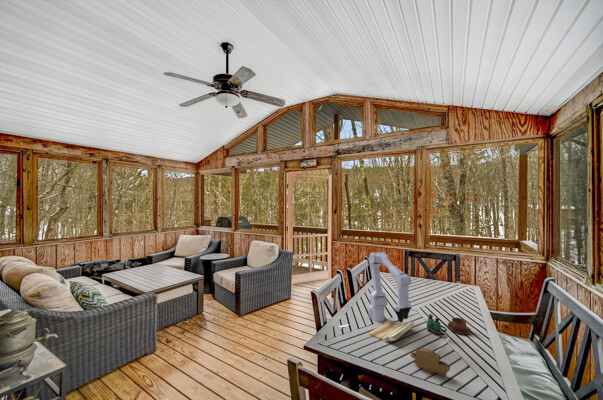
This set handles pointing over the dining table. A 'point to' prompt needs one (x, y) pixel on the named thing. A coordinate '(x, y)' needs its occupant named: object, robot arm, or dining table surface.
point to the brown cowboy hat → (459, 326)
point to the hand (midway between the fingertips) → (402, 320)
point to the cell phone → (343, 326)
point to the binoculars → (435, 326)
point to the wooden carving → (430, 361)
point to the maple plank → (398, 332)
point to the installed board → (384, 329)
